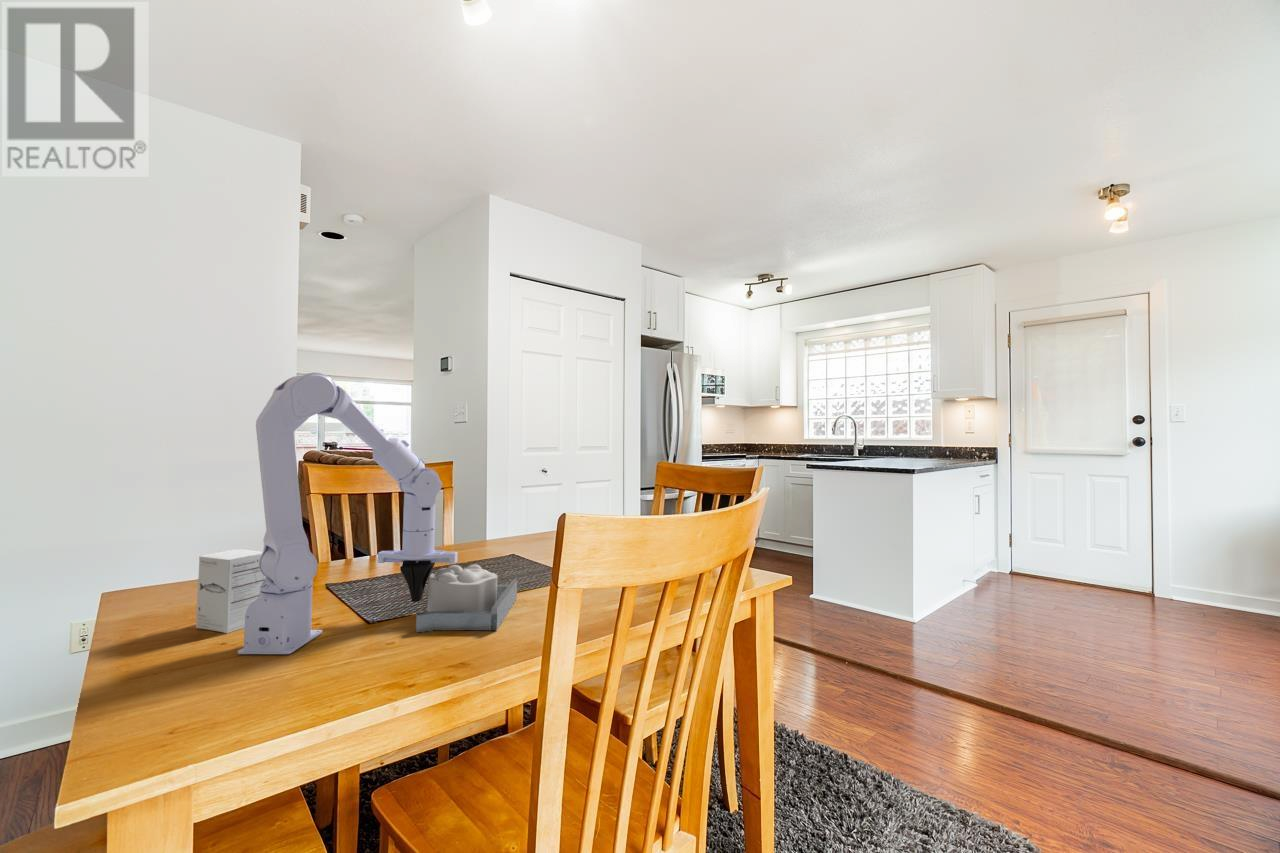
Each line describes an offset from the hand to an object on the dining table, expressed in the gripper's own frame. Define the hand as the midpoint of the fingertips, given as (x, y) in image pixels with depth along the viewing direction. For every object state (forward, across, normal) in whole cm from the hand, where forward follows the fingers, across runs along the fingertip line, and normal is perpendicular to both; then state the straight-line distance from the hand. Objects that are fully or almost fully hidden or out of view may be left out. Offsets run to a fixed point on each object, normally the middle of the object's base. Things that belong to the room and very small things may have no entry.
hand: (416, 600), depth 104 cm
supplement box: (+3, +30, +7) cm, 31 cm away
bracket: (+2, -10, 0) cm, 11 cm away
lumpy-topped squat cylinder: (+3, -8, 0) cm, 9 cm away
